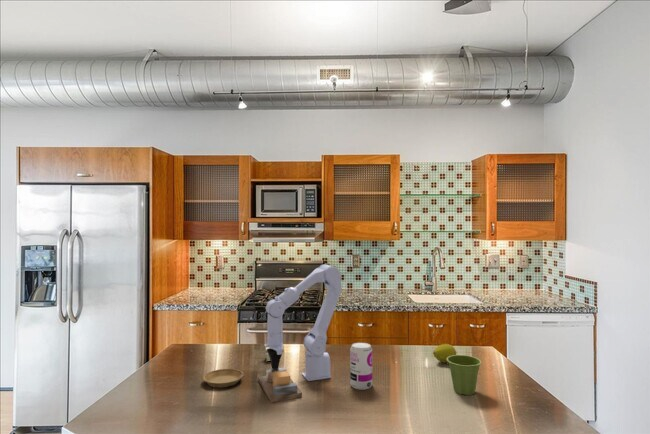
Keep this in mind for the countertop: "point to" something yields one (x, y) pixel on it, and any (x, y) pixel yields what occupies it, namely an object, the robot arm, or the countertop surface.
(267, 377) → the grey rectangular block
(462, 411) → the countertop surface
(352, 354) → the supplement can
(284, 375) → the light brown cube
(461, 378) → the plant pot
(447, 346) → the lemon
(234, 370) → the plant saucer
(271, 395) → the flat wooden platform
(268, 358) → the stacked layers on plate
